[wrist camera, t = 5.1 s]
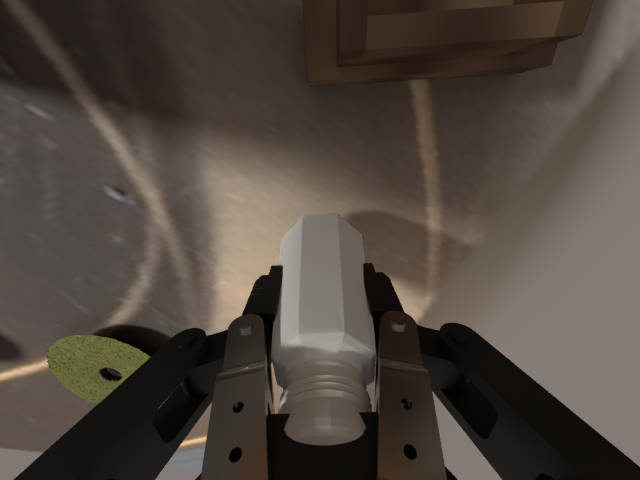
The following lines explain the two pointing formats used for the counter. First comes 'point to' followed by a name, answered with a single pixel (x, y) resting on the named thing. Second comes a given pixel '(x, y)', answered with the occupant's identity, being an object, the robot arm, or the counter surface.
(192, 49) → the counter surface
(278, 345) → the salt shaker
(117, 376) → the green abrasive disc
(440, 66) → the brown open tray piece
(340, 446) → the robot arm
